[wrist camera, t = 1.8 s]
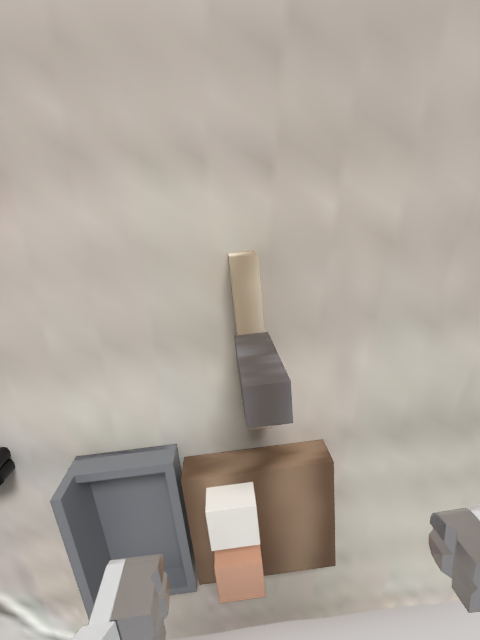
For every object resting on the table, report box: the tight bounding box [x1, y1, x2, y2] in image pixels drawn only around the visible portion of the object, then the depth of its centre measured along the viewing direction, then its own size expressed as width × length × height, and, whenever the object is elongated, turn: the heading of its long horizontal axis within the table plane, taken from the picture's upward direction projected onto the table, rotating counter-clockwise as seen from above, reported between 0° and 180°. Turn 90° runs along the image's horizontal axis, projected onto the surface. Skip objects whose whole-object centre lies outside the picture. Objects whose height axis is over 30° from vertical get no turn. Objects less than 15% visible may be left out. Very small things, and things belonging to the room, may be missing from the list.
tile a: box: [205, 482, 260, 551], centre depth 28 cm, size 4×4×2 cm
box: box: [50, 444, 198, 620], centre depth 30 cm, size 9×15×5 cm, turn 6°
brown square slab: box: [181, 440, 335, 585], centre depth 31 cm, size 13×12×3 cm
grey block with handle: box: [228, 251, 293, 430], centre depth 23 cm, size 2×14×11 cm, turn 6°
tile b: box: [214, 545, 266, 603], centre depth 30 cm, size 4×4×2 cm
